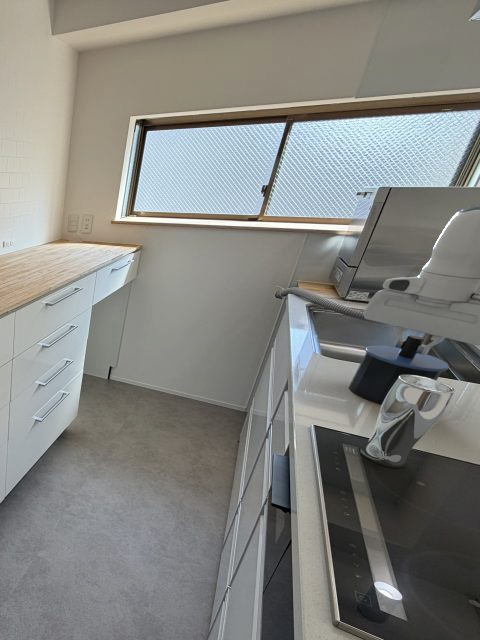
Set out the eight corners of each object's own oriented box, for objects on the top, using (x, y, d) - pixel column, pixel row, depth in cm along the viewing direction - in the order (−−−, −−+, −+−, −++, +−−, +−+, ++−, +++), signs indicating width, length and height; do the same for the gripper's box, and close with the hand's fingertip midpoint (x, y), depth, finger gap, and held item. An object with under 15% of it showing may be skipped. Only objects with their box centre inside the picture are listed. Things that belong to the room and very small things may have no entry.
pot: (429, 403, 94) (453, 365, 90) (405, 413, 89) (428, 374, 85) (364, 380, 104) (382, 345, 100) (338, 389, 99) (356, 352, 94)
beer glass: (416, 465, 72) (466, 389, 65) (394, 473, 70) (443, 395, 63) (369, 443, 78) (411, 371, 71) (347, 450, 75) (388, 376, 69)
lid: (456, 368, 90) (472, 343, 87) (430, 378, 84) (445, 352, 82) (380, 346, 100) (391, 324, 98) (352, 354, 95) (363, 331, 92)
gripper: (525, 299, 78) (481, 366, 84) (389, 277, 94) (361, 334, 100) (513, 302, 75) (469, 370, 82) (376, 278, 92) (348, 337, 98)
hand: (408, 350), depth 91 cm, fingers closed on lid, 2 cm apart
